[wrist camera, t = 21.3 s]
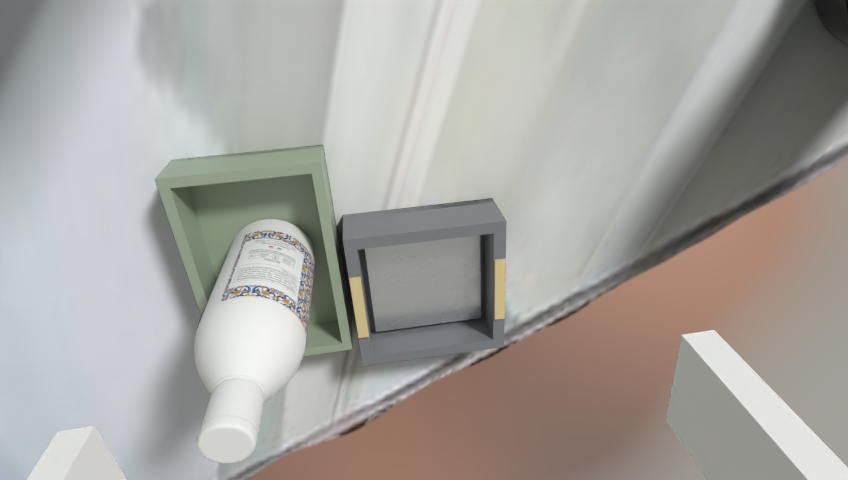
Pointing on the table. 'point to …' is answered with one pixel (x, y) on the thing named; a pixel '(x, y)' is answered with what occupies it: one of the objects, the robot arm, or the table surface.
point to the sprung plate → (425, 282)
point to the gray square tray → (421, 228)
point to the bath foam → (252, 333)
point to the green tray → (252, 201)
